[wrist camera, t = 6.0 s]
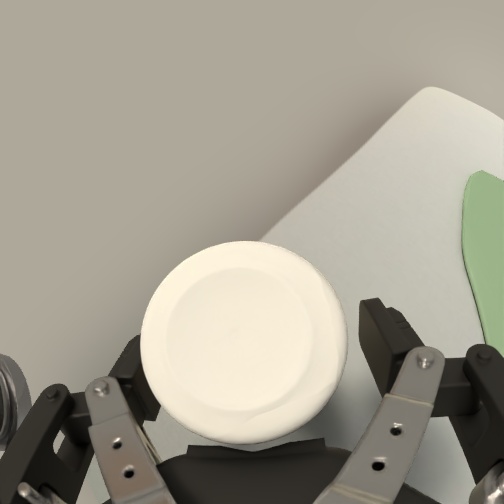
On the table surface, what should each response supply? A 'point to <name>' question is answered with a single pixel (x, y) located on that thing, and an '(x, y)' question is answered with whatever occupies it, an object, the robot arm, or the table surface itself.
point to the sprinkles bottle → (244, 342)
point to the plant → (486, 251)
